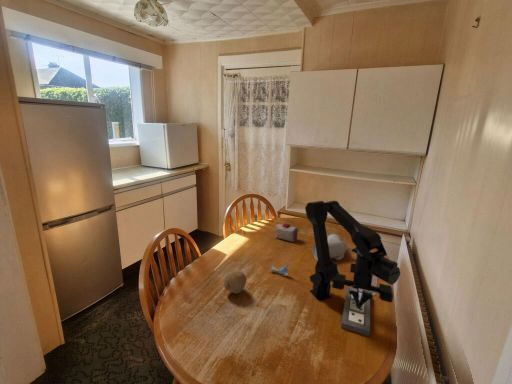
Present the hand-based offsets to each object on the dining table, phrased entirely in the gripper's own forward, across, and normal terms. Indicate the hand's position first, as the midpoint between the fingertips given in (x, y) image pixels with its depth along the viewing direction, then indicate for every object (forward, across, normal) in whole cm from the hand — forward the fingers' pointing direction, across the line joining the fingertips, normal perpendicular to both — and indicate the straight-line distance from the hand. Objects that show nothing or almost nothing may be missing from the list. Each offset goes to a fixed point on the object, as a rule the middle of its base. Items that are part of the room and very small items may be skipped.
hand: (358, 307), depth 89 cm
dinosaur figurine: (+7, +34, -18) cm, 39 cm away
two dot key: (+6, 0, 0) cm, 6 cm away
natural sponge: (+7, +47, +3) cm, 47 cm away
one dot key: (+6, 0, -13) cm, 15 cm away
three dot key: (+6, 0, -7) cm, 9 cm away
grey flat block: (+6, 0, -7) cm, 9 cm away
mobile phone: (+7, -4, -28) cm, 29 cm away
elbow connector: (+7, +16, -47) cm, 50 cm away
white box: (+7, +43, -56) cm, 71 cm away
